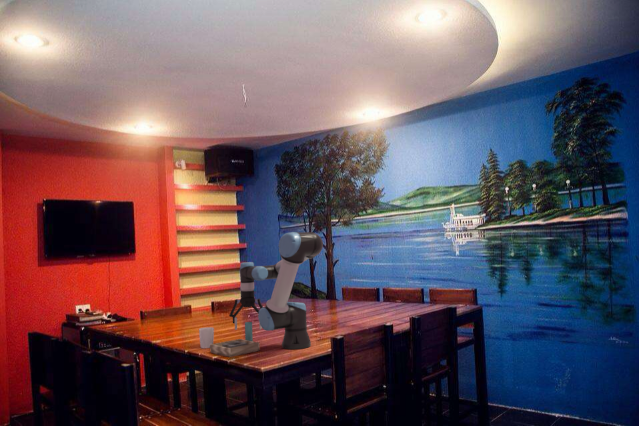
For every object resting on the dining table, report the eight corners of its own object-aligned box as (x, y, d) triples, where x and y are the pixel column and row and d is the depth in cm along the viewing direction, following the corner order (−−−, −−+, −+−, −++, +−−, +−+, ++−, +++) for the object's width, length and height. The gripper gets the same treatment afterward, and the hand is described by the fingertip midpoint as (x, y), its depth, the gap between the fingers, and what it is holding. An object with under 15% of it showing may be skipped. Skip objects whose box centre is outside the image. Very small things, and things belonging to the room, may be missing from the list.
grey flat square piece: (259, 350, 240) (259, 342, 240) (229, 357, 227) (229, 348, 228) (239, 346, 253) (239, 338, 253) (210, 352, 240) (210, 344, 241)
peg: (254, 344, 257) (253, 322, 258) (248, 345, 254) (247, 323, 255) (250, 343, 260) (249, 321, 260) (244, 344, 257) (243, 322, 258)
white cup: (215, 345, 259) (215, 327, 259) (212, 348, 251) (212, 329, 252) (201, 346, 258) (200, 327, 259) (197, 349, 250) (197, 330, 251)
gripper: (270, 289, 262) (271, 327, 261) (226, 290, 263) (227, 328, 262) (268, 290, 255) (269, 329, 254) (223, 291, 256) (224, 330, 254)
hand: (248, 329), depth 258 cm, fingers open, 13 cm apart
